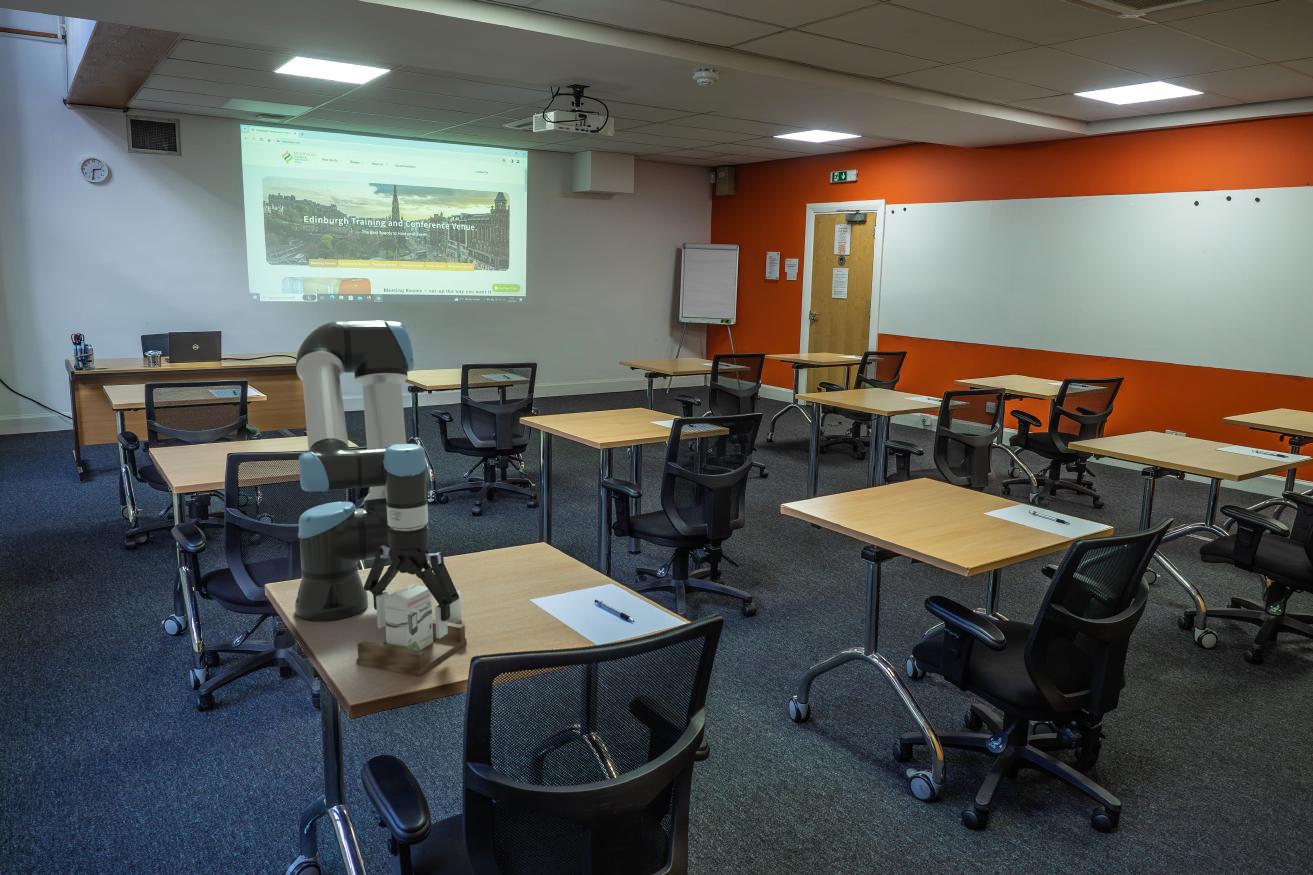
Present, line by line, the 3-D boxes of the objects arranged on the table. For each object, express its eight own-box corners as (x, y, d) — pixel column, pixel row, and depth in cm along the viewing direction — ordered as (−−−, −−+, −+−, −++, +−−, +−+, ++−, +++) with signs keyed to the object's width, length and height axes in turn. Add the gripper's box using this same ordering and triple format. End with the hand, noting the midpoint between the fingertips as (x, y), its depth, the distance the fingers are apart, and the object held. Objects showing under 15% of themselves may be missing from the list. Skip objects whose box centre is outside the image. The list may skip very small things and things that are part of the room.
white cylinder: (433, 622, 180) (432, 595, 179) (446, 614, 185) (445, 588, 184) (453, 625, 179) (452, 599, 178) (466, 617, 183) (465, 591, 182)
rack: (356, 664, 160) (355, 644, 159) (408, 632, 175) (407, 614, 174) (418, 676, 155) (417, 656, 155) (466, 642, 170) (466, 624, 169)
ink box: (406, 659, 160) (404, 601, 158) (385, 655, 162) (382, 597, 160) (434, 642, 168) (432, 586, 166) (414, 638, 169) (411, 582, 167)
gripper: (341, 523, 161) (347, 628, 165) (452, 538, 153) (456, 647, 157) (367, 514, 168) (372, 614, 172) (475, 527, 160) (478, 632, 164)
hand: (412, 630), depth 164 cm, fingers open, 13 cm apart
